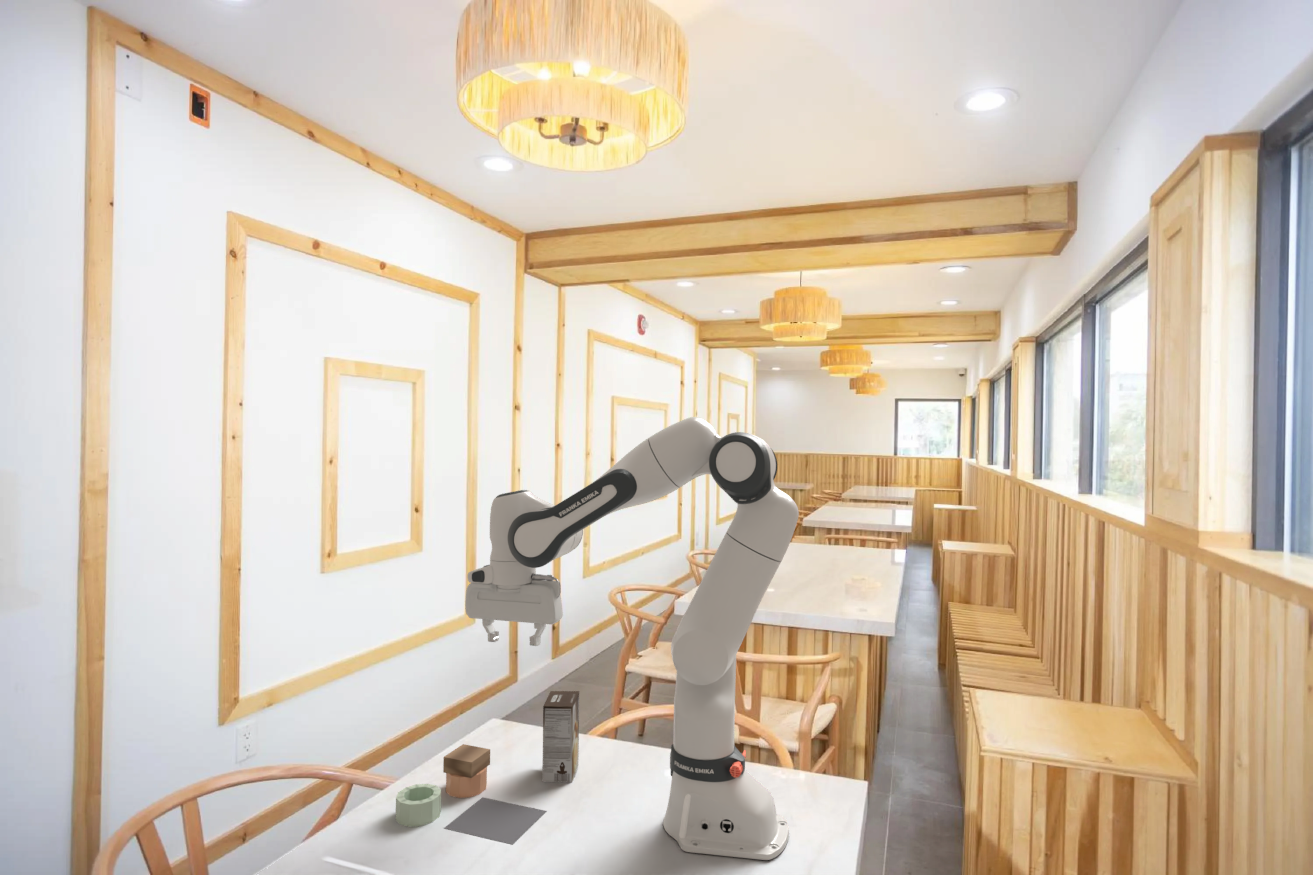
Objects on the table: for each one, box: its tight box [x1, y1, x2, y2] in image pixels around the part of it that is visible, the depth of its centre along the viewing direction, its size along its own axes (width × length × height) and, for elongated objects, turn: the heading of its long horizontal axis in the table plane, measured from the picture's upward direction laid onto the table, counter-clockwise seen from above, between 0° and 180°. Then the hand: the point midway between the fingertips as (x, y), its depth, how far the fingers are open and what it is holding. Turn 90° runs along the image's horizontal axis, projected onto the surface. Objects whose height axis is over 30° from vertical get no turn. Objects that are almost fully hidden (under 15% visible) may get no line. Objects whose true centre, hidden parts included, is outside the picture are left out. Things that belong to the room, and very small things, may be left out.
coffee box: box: [541, 690, 580, 784], centre depth 151 cm, size 9×6×16 cm
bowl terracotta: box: [445, 766, 488, 799], centre depth 143 cm, size 8×8×4 cm
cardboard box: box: [442, 743, 491, 778], centre depth 143 cm, size 6×6×3 cm
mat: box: [443, 796, 548, 845], centre depth 132 cm, size 14×12×1 cm
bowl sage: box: [395, 783, 442, 828], centre depth 133 cm, size 8×8×4 cm
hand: (514, 643), depth 143 cm, fingers open, 8 cm apart
